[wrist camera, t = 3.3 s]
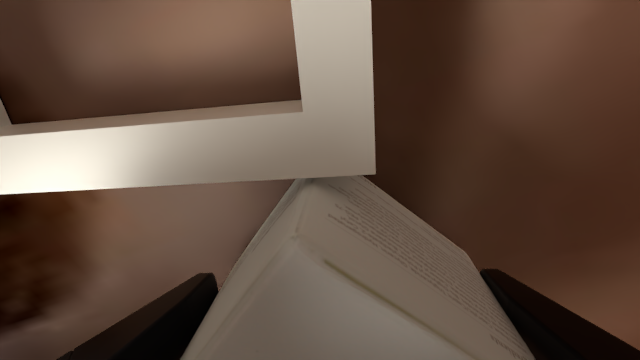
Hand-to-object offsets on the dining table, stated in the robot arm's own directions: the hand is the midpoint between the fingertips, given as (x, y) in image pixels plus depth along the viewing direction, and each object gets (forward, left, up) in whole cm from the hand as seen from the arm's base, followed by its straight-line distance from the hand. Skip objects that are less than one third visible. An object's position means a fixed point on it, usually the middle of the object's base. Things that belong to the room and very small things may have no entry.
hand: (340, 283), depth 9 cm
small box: (0, 0, -1) cm, 1 cm away
